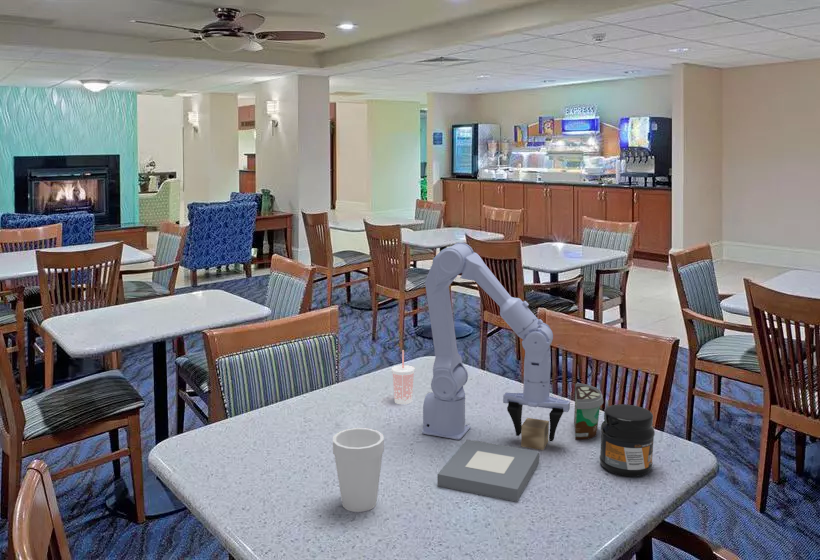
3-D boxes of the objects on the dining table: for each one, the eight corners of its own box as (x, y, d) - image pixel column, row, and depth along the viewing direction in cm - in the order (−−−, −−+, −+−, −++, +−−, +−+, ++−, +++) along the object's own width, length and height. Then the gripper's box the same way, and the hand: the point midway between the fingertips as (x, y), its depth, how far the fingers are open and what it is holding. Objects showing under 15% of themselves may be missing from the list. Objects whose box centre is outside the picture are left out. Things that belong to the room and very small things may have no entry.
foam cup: (335, 492, 133) (333, 428, 131) (383, 490, 134) (382, 426, 132) (334, 517, 124) (332, 450, 122) (385, 515, 125) (384, 448, 122)
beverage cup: (415, 397, 184) (415, 347, 182) (413, 405, 178) (413, 353, 176) (393, 397, 185) (392, 346, 182) (390, 405, 179) (389, 353, 176)
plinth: (437, 485, 136) (437, 473, 135) (466, 449, 152) (467, 438, 151) (517, 501, 129) (517, 488, 129) (538, 462, 146) (539, 450, 145)
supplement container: (638, 483, 136) (642, 426, 134) (590, 467, 143) (592, 412, 141) (660, 466, 144) (664, 411, 142) (613, 451, 151) (616, 399, 149)
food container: (603, 444, 154) (605, 402, 153) (575, 442, 156) (577, 400, 154) (600, 423, 166) (601, 383, 164) (573, 421, 167) (575, 382, 166)
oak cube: (521, 446, 154) (521, 425, 153) (526, 438, 158) (527, 417, 157) (543, 450, 152) (544, 429, 151) (548, 441, 156) (548, 420, 155)
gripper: (499, 380, 151) (498, 438, 154) (566, 388, 146) (564, 449, 148) (508, 370, 158) (507, 427, 160) (572, 378, 152) (570, 436, 155)
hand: (535, 437), depth 155 cm, fingers open, 7 cm apart
